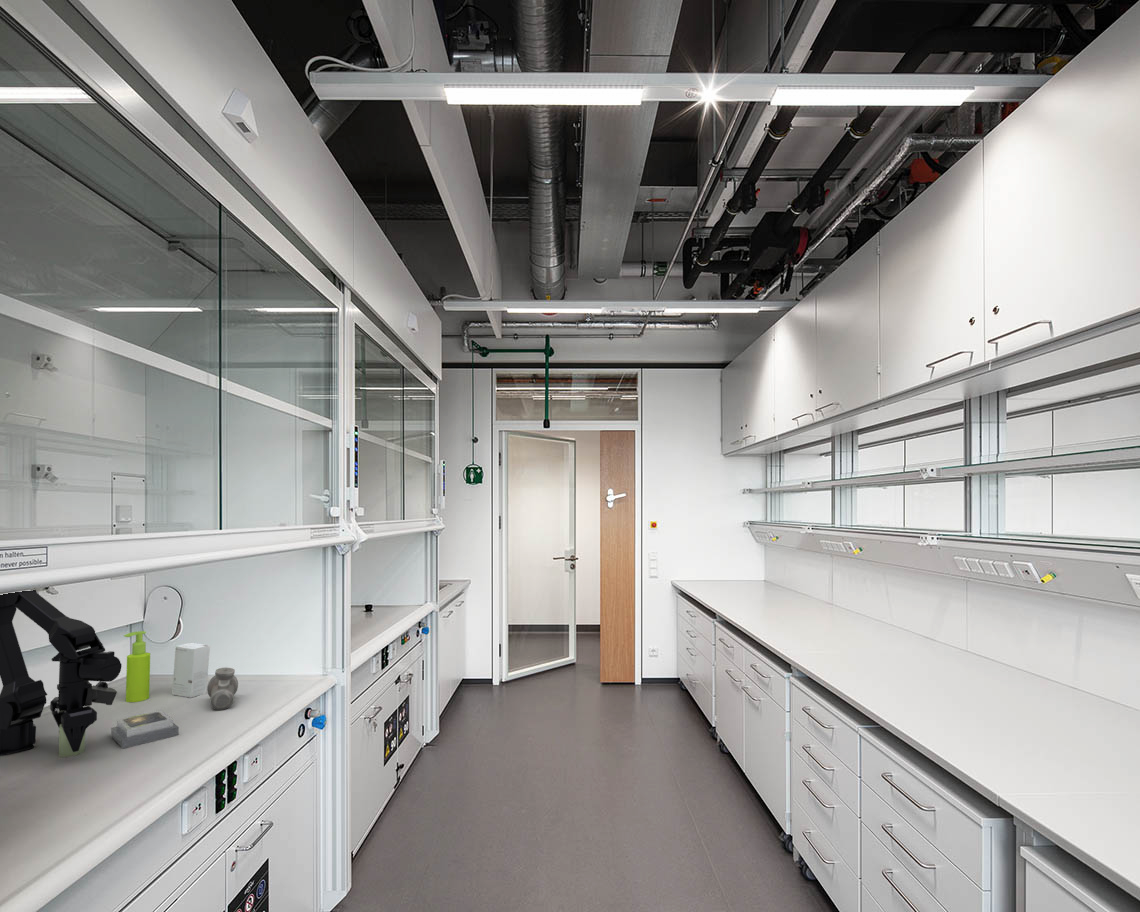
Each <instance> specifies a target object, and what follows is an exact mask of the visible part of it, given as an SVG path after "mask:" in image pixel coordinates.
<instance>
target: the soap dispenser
mask: <svg viewBox="0 0 1140 912" xmlns="http://www.w3.org/2000/svg"><path fill="white" fill-rule="evenodd" d="M146 633H147V632H146V630H145V631H144V630H140V631H139V630H138V631H133V632H128V633H126V634H123V637H125V638H130V637H133V636H135V641H134V642H133V643H132V644H131V654H129V655H126V677H125V679H126V680H125V702H126V703H138V702H139V703H140V702H143V701H146V700H148V699H149V698H150V684H151V682H150V679H151V676H150V675H151V653H150V652H146V649H147V643H146V641H144V639H143V635H145V634H146ZM146 635H147V634H146Z"/></svg>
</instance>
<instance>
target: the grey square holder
mask: <svg viewBox="0 0 1140 912" xmlns="http://www.w3.org/2000/svg"><path fill="white" fill-rule="evenodd" d="M179 729H180V728H179V726H178V725H177V724H176V723H174V719H173V718H172V717H171V716H170V715H169V714H168V713H166V712H165V711H164V710H162V709H161V710H156V711H151V712H147V713H142V714H138V715H133V716H129V717H123V718H119V719H117V720H116V726H113V727H110V737H111V738H112V739H113V740H114V741H115V742H116V743H117V744H118V745H119V747H121V748H122V749H127V748H130V747H135V746H140V745H143V744H148V743H151V742H156V741H160V740H163V739H167V738H172V737H175V736H179Z"/></svg>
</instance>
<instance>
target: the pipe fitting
mask: <svg viewBox="0 0 1140 912" xmlns="http://www.w3.org/2000/svg"><path fill="white" fill-rule="evenodd" d="M235 671H236V670H235V668H233V667H227V666H226V667H220V668H217V669H216V670H215V674H214V675H213V677H211V678H210V680H209V681H208V682H207V694H208V696H209V698H210V700H209V702H210V706H211V707H212V708H213V709H214V710H216V711H224V710H226V709H228V708H229V707H231V706H232V704H233V702H234V700H235V699H234V697H235V695H236V693H237V691H238V688H239V680H238V678H237V676H235Z"/></svg>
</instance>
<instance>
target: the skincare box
mask: <svg viewBox="0 0 1140 912" xmlns="http://www.w3.org/2000/svg"><path fill="white" fill-rule="evenodd" d="M210 649H211V645H208V644H203V643H198V642H197V643H196V642H187V643H183V644H178V645H175V651H174V664H173V674H172V675H173V676H172V690H171V694H172V696H178V697H183V698H185V697H186V698H190V699H191V698H194V697H198V696H201V695H204V694H208V691H207V689H208V682H209V681H208V679H209V666H210V665H209V664H210V662H209V661H210Z"/></svg>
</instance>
